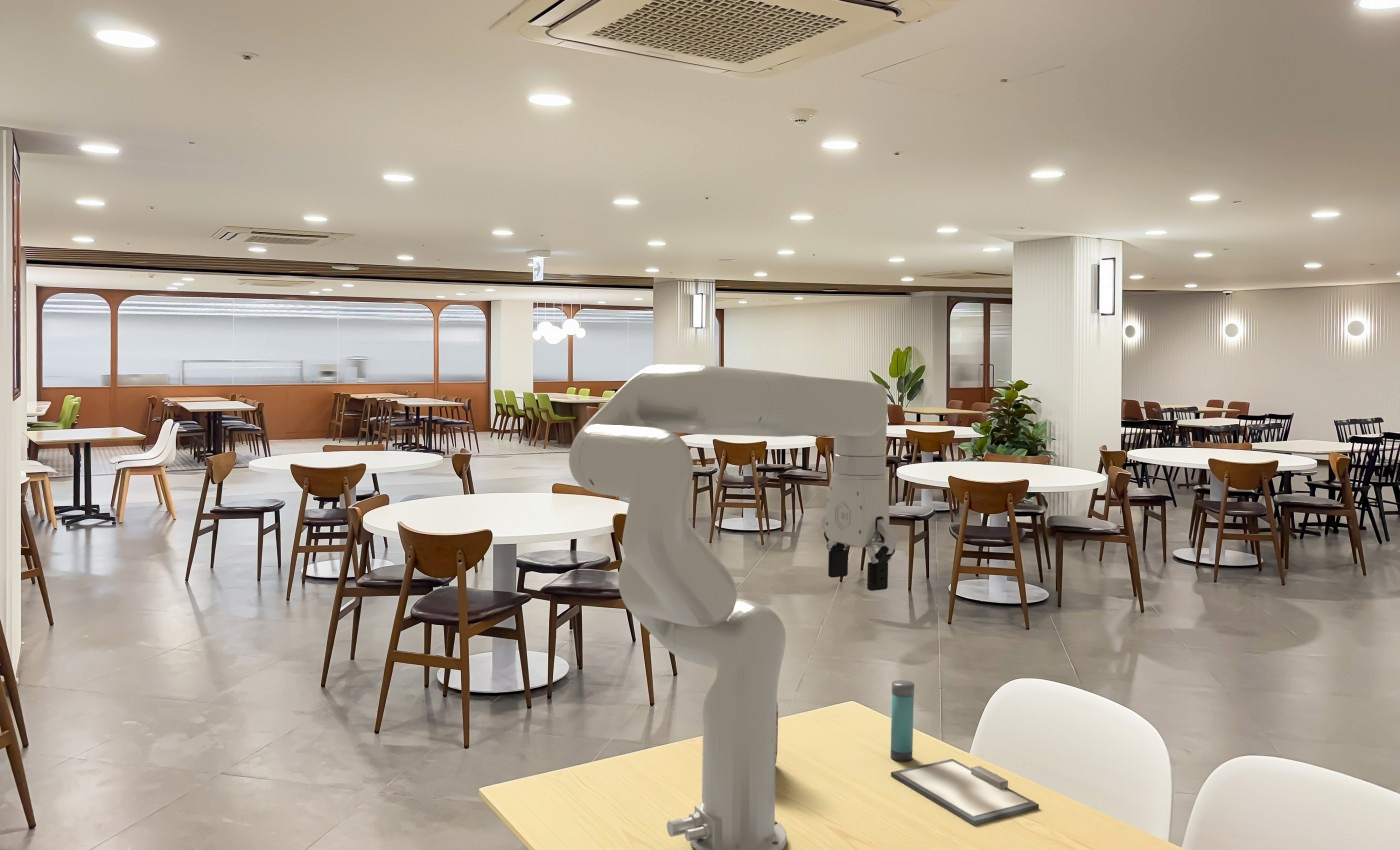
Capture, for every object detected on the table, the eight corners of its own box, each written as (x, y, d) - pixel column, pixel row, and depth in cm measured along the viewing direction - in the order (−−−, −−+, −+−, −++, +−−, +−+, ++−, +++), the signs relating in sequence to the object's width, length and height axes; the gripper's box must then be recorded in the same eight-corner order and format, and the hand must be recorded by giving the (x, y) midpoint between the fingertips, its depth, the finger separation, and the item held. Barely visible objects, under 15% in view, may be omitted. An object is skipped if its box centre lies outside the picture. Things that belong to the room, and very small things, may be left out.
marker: (902, 763, 154) (903, 688, 153) (885, 756, 157) (887, 682, 156) (917, 758, 156) (919, 684, 156) (900, 751, 159) (902, 678, 158)
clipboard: (973, 825, 133) (973, 813, 133) (890, 775, 149) (891, 764, 149) (1038, 808, 139) (1039, 796, 139) (952, 762, 155) (952, 751, 155)
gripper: (805, 462, 150) (803, 574, 151) (874, 473, 134) (872, 597, 135) (846, 461, 153) (843, 570, 154) (918, 471, 138) (915, 592, 139)
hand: (857, 582), depth 145 cm, fingers open, 9 cm apart
